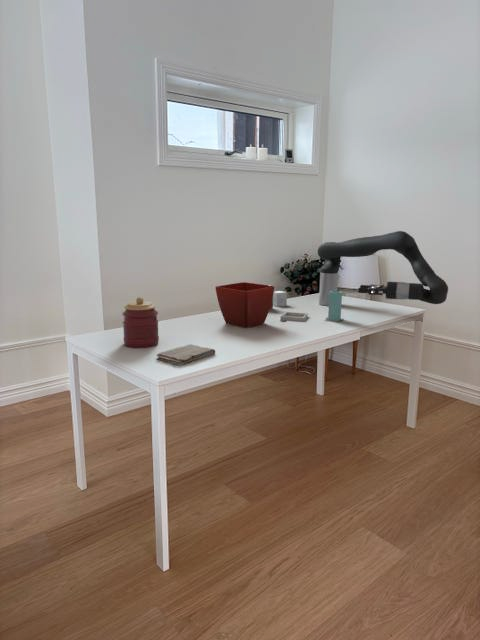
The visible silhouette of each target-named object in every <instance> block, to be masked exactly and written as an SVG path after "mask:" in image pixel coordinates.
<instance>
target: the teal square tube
mask: <svg viewBox="0 0 480 640" xmlns="http://www.w3.org/2000/svg"><path fill="white" fill-rule="evenodd" d="M342 300H343V291H341V290H337V291H330V293H329V306H328V312H327V313H328V315H327V317H328V321H327V322H329V321H340V319H342V317H341V316H342Z"/></svg>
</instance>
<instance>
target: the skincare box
mask: <svg viewBox="0 0 480 640" xmlns="http://www.w3.org/2000/svg"><path fill="white" fill-rule="evenodd" d="M287 297H288V292H286V291H282V290H276V291H275V290H274V293H273V307H279V308H280V307H287V306H288V304H287V301H288V300H287V299H288V298H287Z"/></svg>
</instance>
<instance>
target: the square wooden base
mask: <svg viewBox="0 0 480 640" xmlns="http://www.w3.org/2000/svg"><path fill="white" fill-rule="evenodd" d="M344 320H345V318H341V319H340V321H328V316H327V317H326V318H325V319H324V322H330V323H331V322H332V323H343V322H344Z"/></svg>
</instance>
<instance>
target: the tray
mask: <svg viewBox="0 0 480 640" xmlns="http://www.w3.org/2000/svg"><path fill="white" fill-rule="evenodd" d="M308 317H309V314H308V313H306V312H294V311H285V312H284V313H283V314H281V315H280V322H288V321H293V322H301V323H302V322H305V321H306V319H308Z"/></svg>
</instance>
